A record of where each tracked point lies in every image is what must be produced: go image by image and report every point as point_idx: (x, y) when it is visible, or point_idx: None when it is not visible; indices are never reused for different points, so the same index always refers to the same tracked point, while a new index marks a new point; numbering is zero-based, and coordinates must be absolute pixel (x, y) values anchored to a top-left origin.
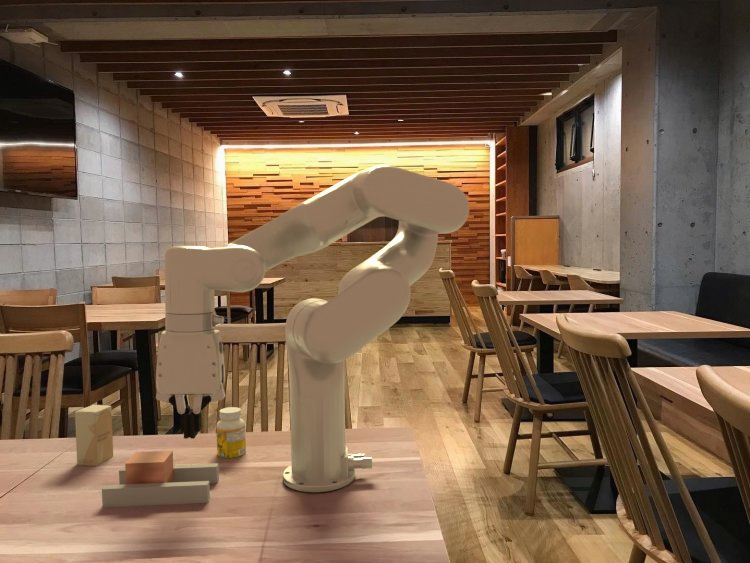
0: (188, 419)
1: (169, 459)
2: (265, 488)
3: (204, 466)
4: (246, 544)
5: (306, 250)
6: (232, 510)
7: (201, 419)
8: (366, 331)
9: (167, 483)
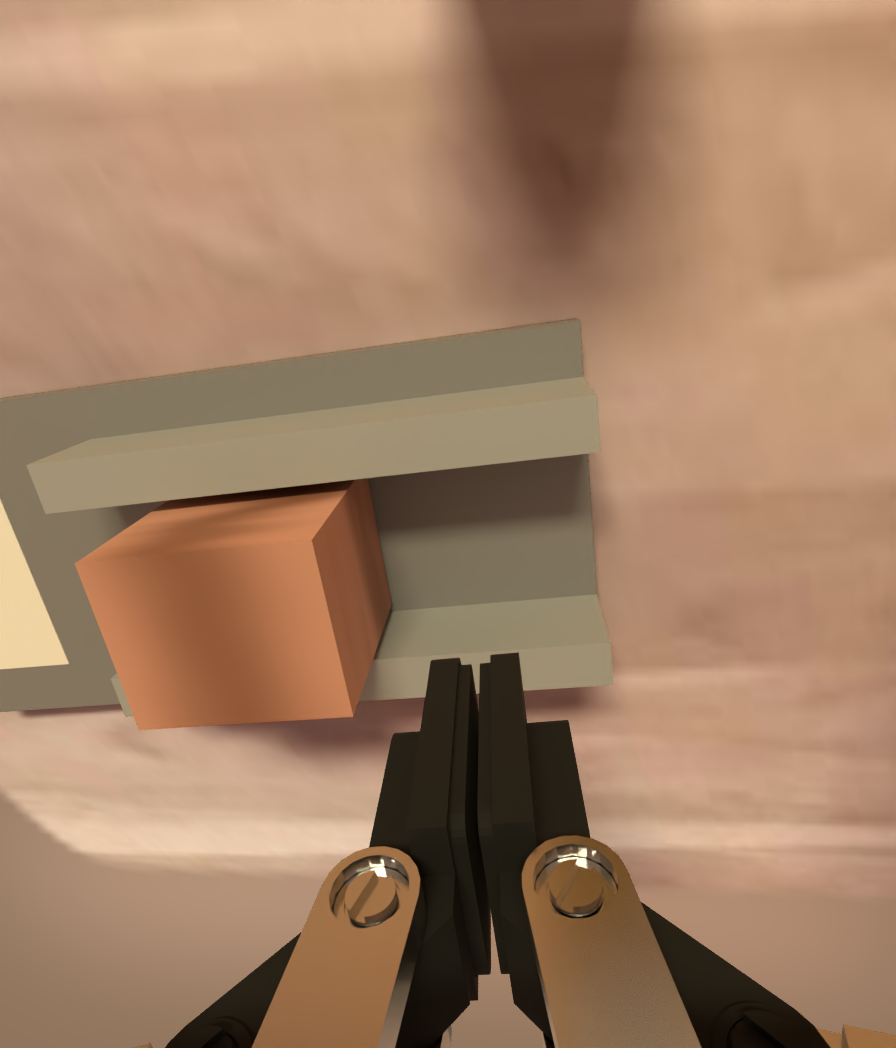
0: (490, 930)
1: (337, 603)
2: (850, 392)
3: (519, 448)
4: (797, 839)
5: None
6: (705, 621)
7: (578, 778)
8: None
9: (399, 666)
